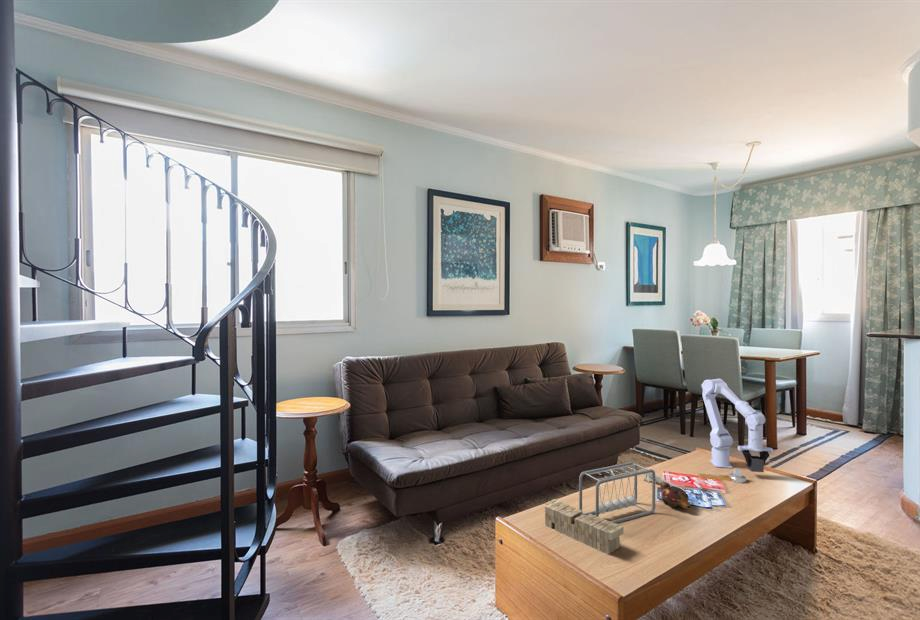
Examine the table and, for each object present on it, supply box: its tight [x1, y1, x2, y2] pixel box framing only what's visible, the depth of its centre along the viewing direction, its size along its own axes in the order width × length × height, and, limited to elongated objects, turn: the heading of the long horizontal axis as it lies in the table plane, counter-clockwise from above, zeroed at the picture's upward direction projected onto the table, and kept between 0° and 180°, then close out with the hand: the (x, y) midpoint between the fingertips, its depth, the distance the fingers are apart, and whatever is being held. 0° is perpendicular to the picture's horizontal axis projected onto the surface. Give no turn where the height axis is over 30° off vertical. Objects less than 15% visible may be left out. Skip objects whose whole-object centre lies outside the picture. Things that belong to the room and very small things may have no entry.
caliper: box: [643, 472, 688, 492], centre depth 201 cm, size 20×1×6 cm, turn 41°
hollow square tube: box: [746, 455, 765, 473], centre depth 213 cm, size 5×5×6 cm
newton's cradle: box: [578, 461, 656, 524], centre depth 176 cm, size 30×10×18 cm, turn 114°
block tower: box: [544, 499, 625, 555], centre depth 160 cm, size 8×8×29 cm
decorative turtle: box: [659, 482, 692, 510], centre depth 183 cm, size 10×15×8 cm, turn 23°
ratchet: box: [697, 467, 747, 484], centre depth 210 cm, size 20×7×5 cm, turn 78°
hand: (755, 466), depth 213 cm, fingers closed on hollow square tube, 5 cm apart
